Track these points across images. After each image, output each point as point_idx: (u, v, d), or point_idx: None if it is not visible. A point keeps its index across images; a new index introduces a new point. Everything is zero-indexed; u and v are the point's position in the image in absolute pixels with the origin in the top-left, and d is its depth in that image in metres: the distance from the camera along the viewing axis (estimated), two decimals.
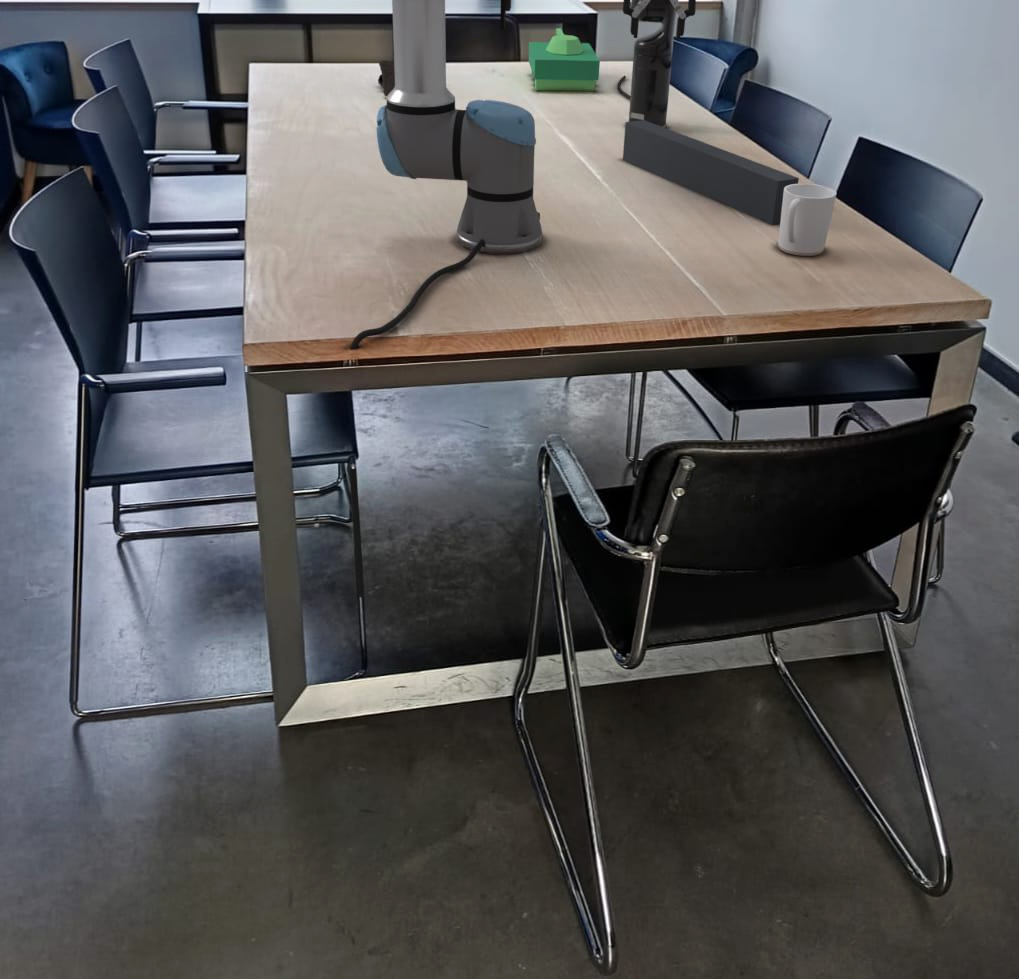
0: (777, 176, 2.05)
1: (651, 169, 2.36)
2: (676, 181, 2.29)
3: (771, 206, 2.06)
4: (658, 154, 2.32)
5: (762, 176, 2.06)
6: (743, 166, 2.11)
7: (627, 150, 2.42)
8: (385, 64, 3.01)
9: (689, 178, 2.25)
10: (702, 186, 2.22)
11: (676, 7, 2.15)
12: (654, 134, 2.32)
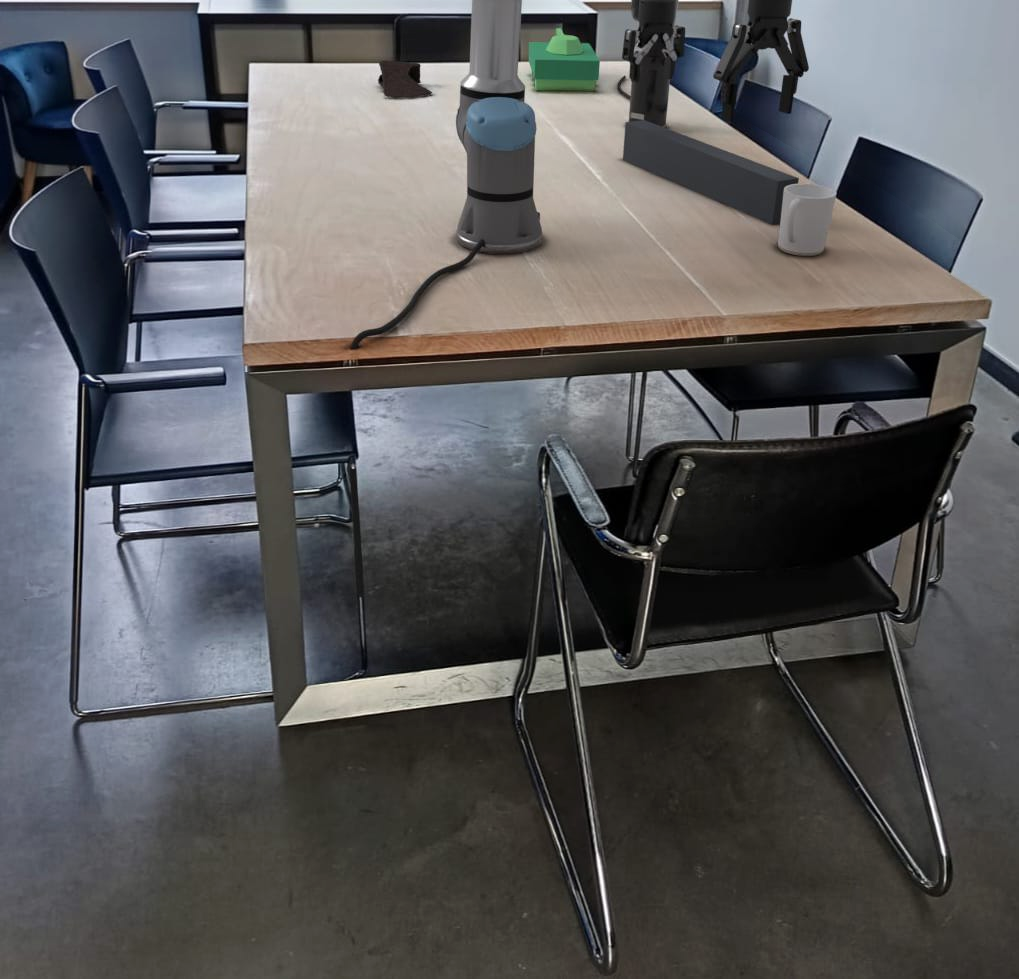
0: (777, 176, 2.05)
1: (651, 169, 2.36)
2: (676, 181, 2.29)
3: (771, 206, 2.06)
4: (658, 154, 2.32)
5: (762, 176, 2.06)
6: (743, 166, 2.11)
7: (627, 150, 2.42)
8: (385, 64, 3.01)
9: (689, 178, 2.25)
10: (702, 186, 2.22)
11: (671, 50, 2.29)
12: (654, 134, 2.32)
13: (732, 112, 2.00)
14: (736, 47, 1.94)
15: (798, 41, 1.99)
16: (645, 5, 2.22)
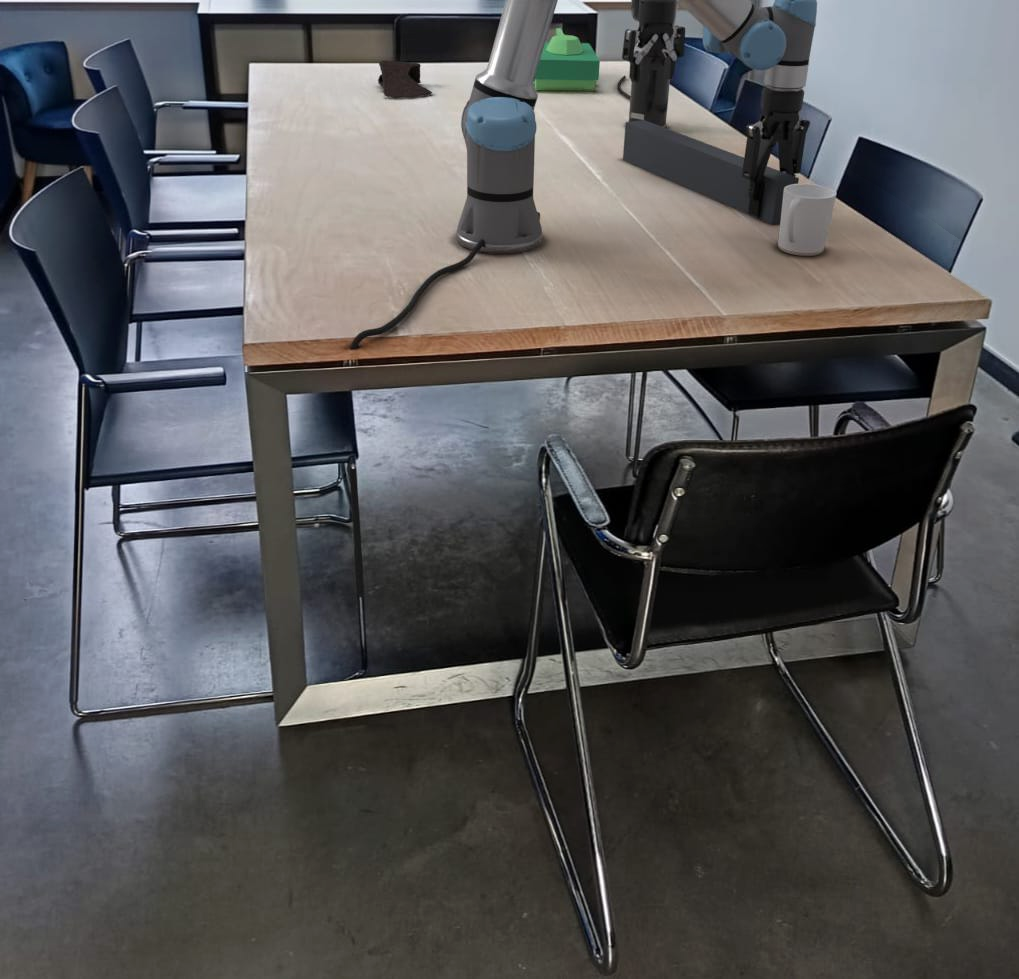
0: (777, 176, 2.05)
1: (651, 169, 2.36)
2: (676, 181, 2.29)
3: (771, 206, 2.06)
4: (658, 154, 2.32)
5: None
6: None
7: (627, 150, 2.42)
8: (385, 64, 3.01)
9: (689, 178, 2.25)
10: (702, 186, 2.22)
11: (671, 50, 2.29)
12: (654, 134, 2.32)
13: (759, 208, 2.08)
14: (755, 148, 2.01)
15: (801, 140, 2.05)
16: (645, 5, 2.22)
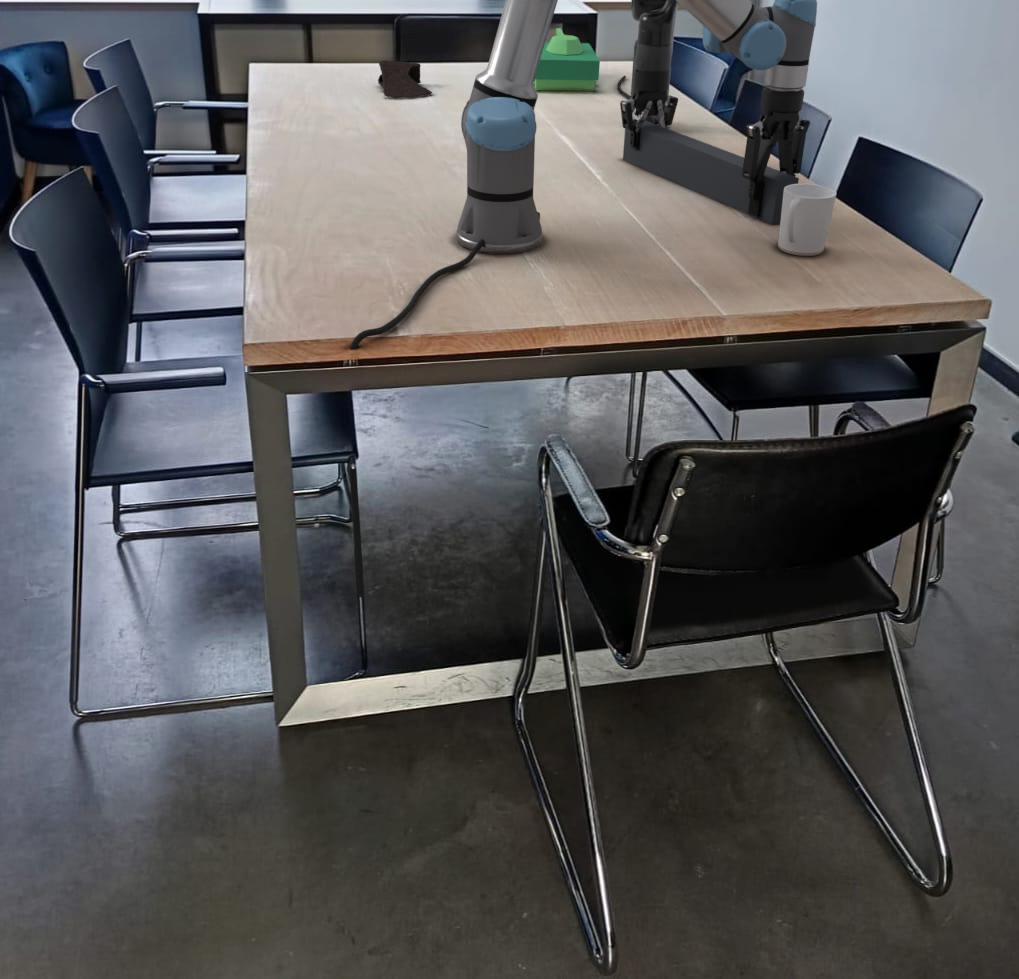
0: (777, 176, 2.05)
1: (651, 169, 2.36)
2: (676, 181, 2.29)
3: (771, 206, 2.06)
4: (658, 154, 2.32)
5: None
6: None
7: (627, 150, 2.42)
8: (385, 64, 3.01)
9: (689, 178, 2.25)
10: (702, 186, 2.22)
11: (661, 118, 2.36)
12: (654, 134, 2.32)
13: (759, 208, 2.08)
14: (755, 148, 2.01)
15: (801, 140, 2.05)
16: (640, 74, 2.29)
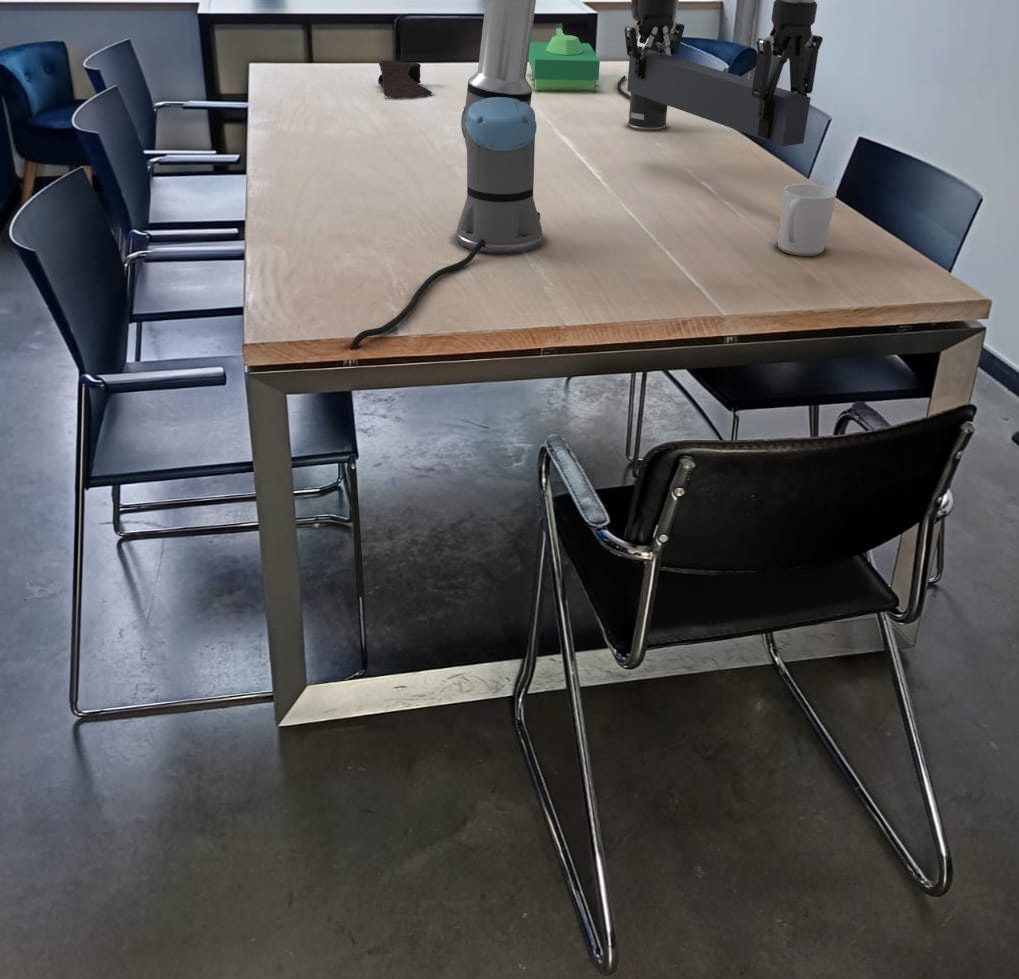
0: (788, 95, 1.98)
1: (656, 98, 2.28)
2: (682, 109, 2.21)
3: (782, 127, 1.98)
4: (663, 82, 2.25)
5: None
6: None
7: (632, 80, 2.34)
8: (385, 64, 3.01)
9: (696, 104, 2.17)
10: (710, 112, 2.14)
11: (667, 46, 2.29)
12: (660, 61, 2.24)
13: (769, 129, 2.00)
14: (766, 64, 1.93)
15: (813, 57, 1.98)
16: None
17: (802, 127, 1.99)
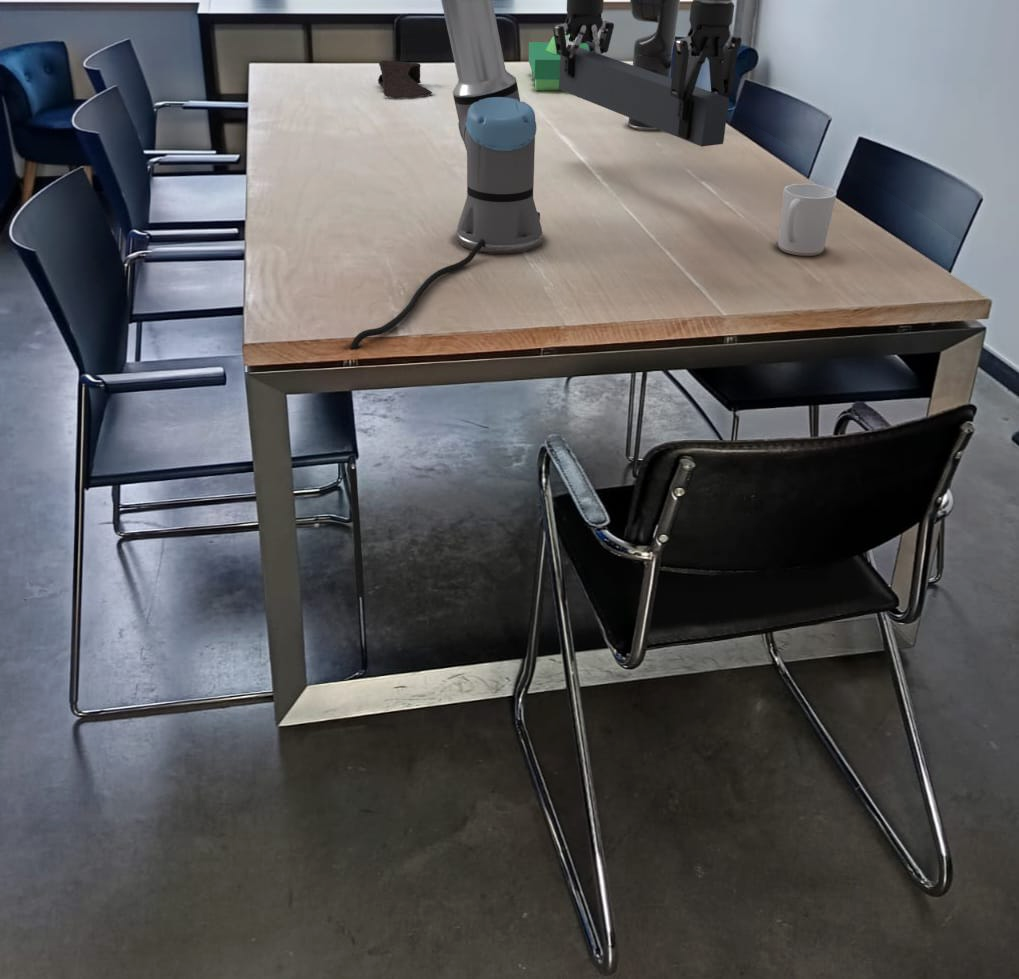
0: (707, 96, 1.98)
1: (586, 97, 2.28)
2: (609, 108, 2.21)
3: (700, 127, 1.98)
4: (592, 81, 2.25)
5: None
6: None
7: (563, 79, 2.34)
8: (385, 64, 3.01)
9: (622, 103, 2.17)
10: (634, 111, 2.14)
11: (596, 44, 2.28)
12: (588, 59, 2.24)
13: (688, 129, 2.00)
14: (683, 64, 1.93)
15: (732, 58, 1.98)
16: None
17: (721, 127, 1.99)
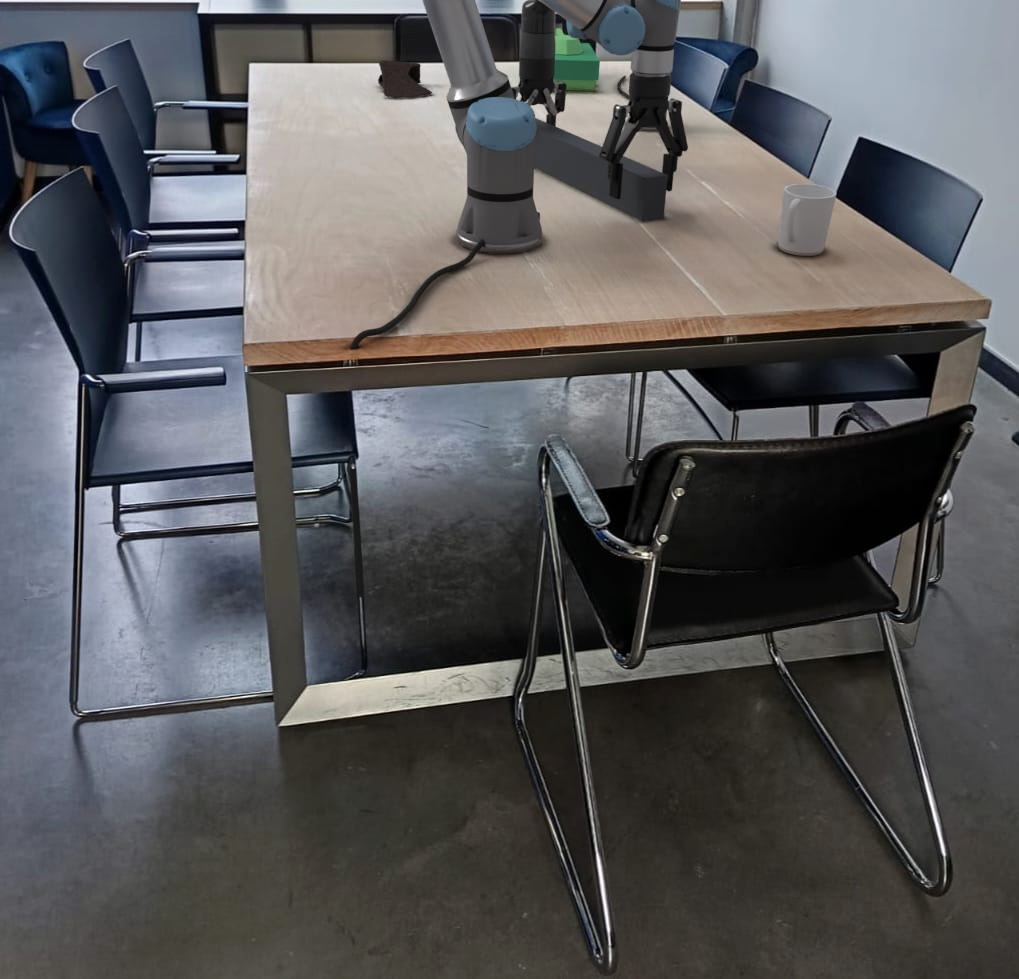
0: (646, 173, 2.05)
1: (538, 166, 2.36)
2: (559, 178, 2.29)
3: (641, 203, 2.06)
4: (543, 151, 2.32)
5: (632, 172, 2.06)
6: None
7: None
8: (385, 64, 3.01)
9: (570, 175, 2.25)
10: (582, 183, 2.22)
11: (551, 105, 2.35)
12: (539, 131, 2.32)
13: (619, 190, 2.05)
14: (618, 129, 1.98)
15: (678, 121, 2.04)
16: (524, 62, 2.28)
17: (661, 203, 2.07)
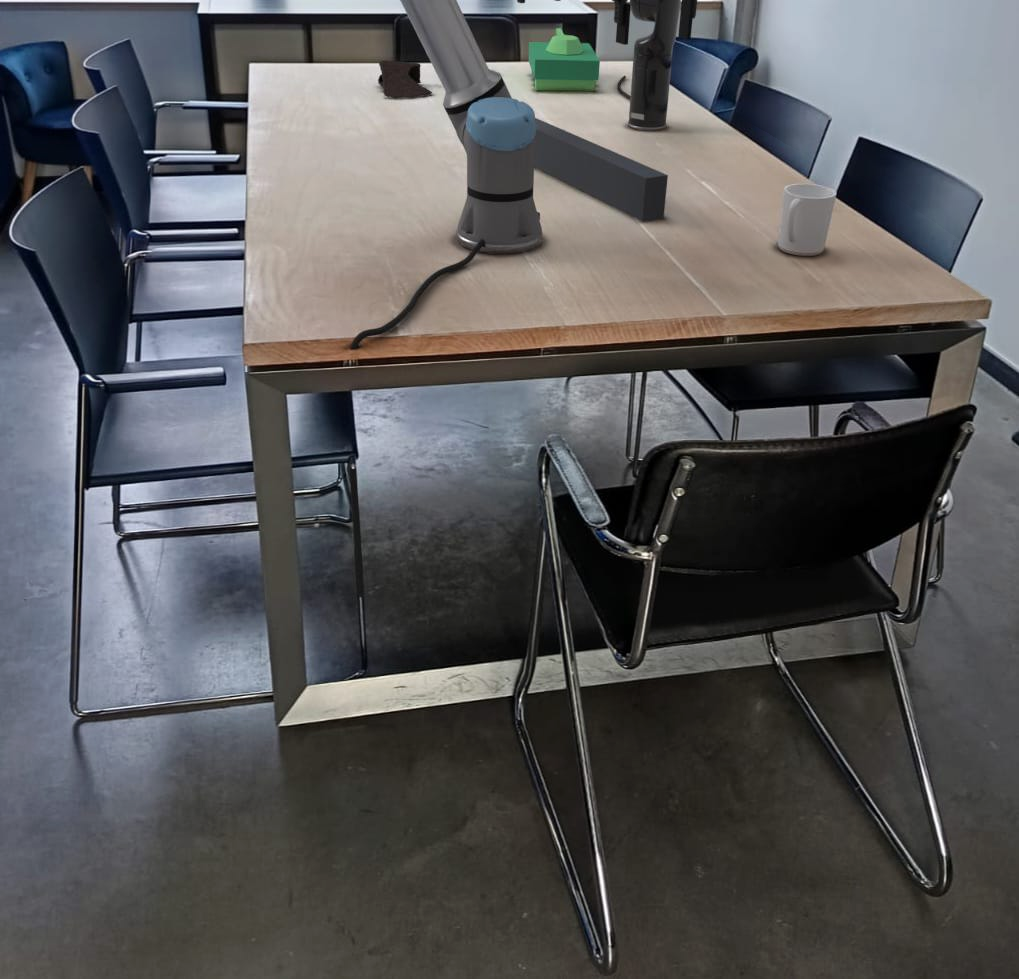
0: (646, 173, 2.05)
1: (538, 166, 2.36)
2: (559, 178, 2.29)
3: (641, 203, 2.06)
4: (543, 151, 2.32)
5: (632, 172, 2.06)
6: (616, 163, 2.11)
7: None
8: (385, 64, 3.01)
9: (570, 175, 2.25)
10: (582, 183, 2.22)
11: None
12: (539, 131, 2.32)
13: (626, 34, 1.90)
14: None
15: None
16: None
17: (661, 203, 2.07)
